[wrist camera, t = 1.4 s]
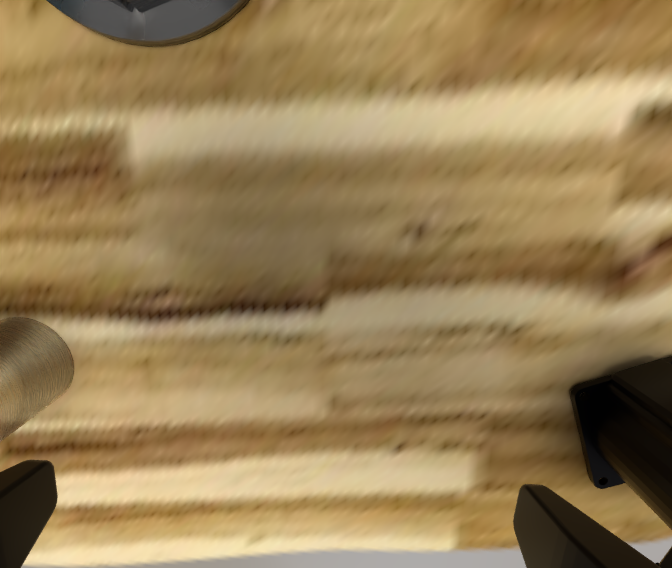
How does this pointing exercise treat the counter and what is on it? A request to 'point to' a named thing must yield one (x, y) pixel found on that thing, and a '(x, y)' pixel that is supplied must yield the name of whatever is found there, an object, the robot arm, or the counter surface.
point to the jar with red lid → (30, 371)
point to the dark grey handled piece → (151, 18)
